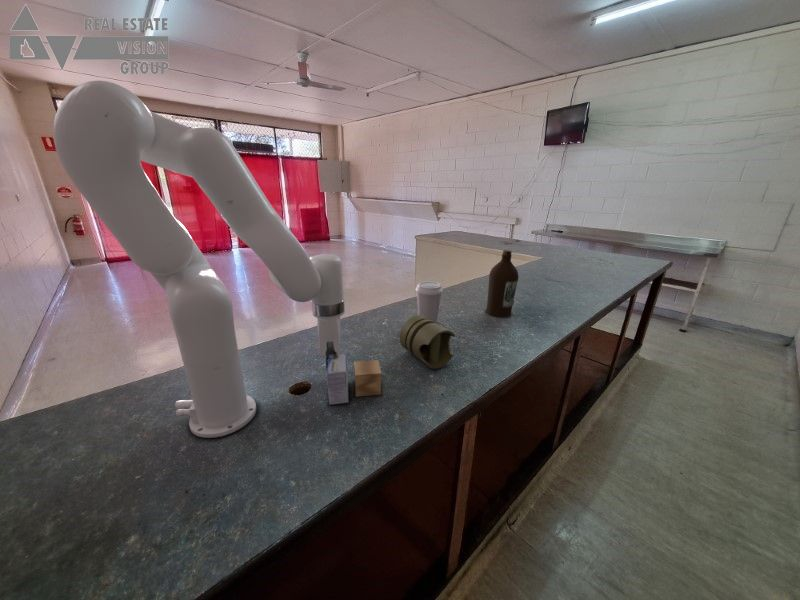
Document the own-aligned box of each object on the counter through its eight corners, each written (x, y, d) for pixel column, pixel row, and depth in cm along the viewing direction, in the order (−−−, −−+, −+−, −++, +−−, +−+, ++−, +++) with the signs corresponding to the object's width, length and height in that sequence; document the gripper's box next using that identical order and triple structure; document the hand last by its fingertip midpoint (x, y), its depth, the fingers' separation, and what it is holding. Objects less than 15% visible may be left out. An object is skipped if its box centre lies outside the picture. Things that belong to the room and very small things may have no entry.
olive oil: (479, 311, 127) (486, 249, 118) (496, 306, 133) (504, 247, 124) (501, 320, 119) (510, 255, 110) (517, 314, 125) (528, 252, 116)
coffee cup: (411, 327, 111) (413, 287, 106) (416, 317, 120) (418, 279, 114) (438, 331, 109) (441, 290, 104) (441, 320, 118) (444, 281, 112)
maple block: (355, 396, 75) (355, 375, 73) (354, 381, 80) (354, 361, 78) (380, 394, 76) (381, 373, 74) (378, 380, 81) (378, 359, 79)
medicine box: (348, 403, 73) (347, 371, 69) (328, 405, 72) (326, 373, 69) (347, 382, 80) (346, 353, 77) (329, 384, 79) (327, 354, 76)
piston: (423, 373, 85) (425, 336, 81) (399, 354, 94) (400, 319, 90) (454, 362, 90) (458, 326, 86) (428, 344, 100) (431, 311, 96)
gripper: (314, 296, 81) (320, 358, 88) (309, 321, 67) (316, 392, 74) (344, 295, 82) (347, 356, 89) (344, 319, 69) (348, 388, 75)
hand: (333, 372), depth 82 cm, fingers closed
